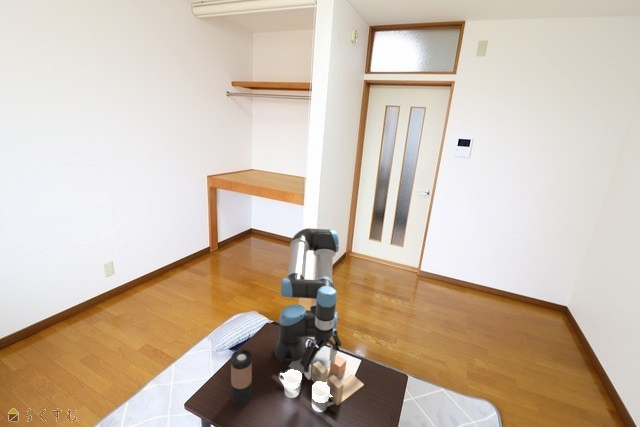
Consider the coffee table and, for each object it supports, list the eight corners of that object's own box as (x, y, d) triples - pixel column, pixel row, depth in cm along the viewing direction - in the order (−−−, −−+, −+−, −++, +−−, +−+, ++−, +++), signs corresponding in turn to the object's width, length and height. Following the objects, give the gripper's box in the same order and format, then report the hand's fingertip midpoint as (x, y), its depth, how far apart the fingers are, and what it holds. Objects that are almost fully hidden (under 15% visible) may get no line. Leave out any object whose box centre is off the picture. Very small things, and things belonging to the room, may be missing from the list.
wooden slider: (310, 380, 128) (312, 363, 126) (337, 363, 139) (339, 347, 136) (321, 392, 123) (323, 374, 121) (348, 373, 134) (350, 356, 131)
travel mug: (244, 409, 114) (244, 367, 108) (227, 402, 116) (226, 360, 110) (255, 393, 121) (255, 352, 115) (239, 387, 123) (238, 346, 117)
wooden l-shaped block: (324, 395, 122) (326, 377, 119) (351, 376, 132) (353, 359, 130) (337, 407, 117) (339, 389, 114) (363, 386, 127) (366, 369, 125)
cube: (329, 370, 133) (330, 360, 132) (336, 363, 137) (337, 354, 135) (338, 376, 130) (339, 366, 129) (345, 369, 134) (346, 360, 133)
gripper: (305, 343, 107) (302, 390, 113) (352, 318, 124) (347, 361, 129) (292, 332, 113) (290, 378, 118) (339, 309, 129) (335, 350, 135)
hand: (320, 369), depth 124 cm, fingers open, 13 cm apart
